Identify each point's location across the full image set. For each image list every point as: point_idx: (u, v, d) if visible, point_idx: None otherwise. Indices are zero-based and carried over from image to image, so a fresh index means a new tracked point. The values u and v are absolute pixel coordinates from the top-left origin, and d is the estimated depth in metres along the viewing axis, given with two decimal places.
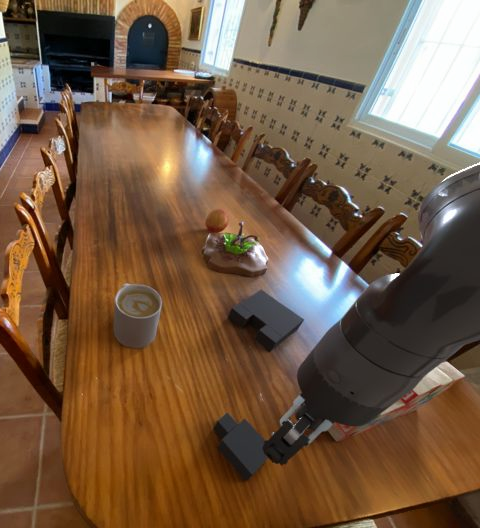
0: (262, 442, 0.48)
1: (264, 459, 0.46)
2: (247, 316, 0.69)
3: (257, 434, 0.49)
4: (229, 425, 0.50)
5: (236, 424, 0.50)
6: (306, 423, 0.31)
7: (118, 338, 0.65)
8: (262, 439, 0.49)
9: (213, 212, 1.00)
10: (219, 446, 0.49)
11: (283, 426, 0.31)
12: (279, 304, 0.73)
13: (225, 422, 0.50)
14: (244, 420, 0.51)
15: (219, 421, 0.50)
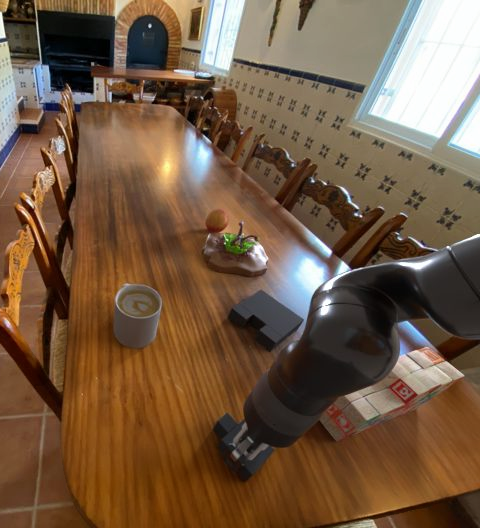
0: None
1: (264, 459, 0.46)
2: (247, 316, 0.69)
3: None
4: (229, 425, 0.50)
5: (236, 424, 0.50)
6: (246, 446, 0.41)
7: (118, 338, 0.65)
8: None
9: (213, 212, 1.00)
10: (219, 446, 0.49)
11: (228, 449, 0.41)
12: (279, 304, 0.73)
13: (225, 422, 0.50)
14: (244, 420, 0.51)
15: (219, 421, 0.50)
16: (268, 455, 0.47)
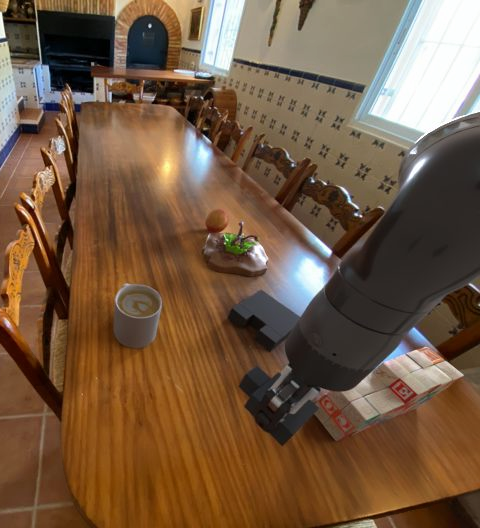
0: None
1: (307, 417, 0.37)
2: (247, 316, 0.69)
3: None
4: (260, 379, 0.41)
5: (269, 378, 0.41)
6: (290, 391, 0.31)
7: (118, 338, 0.65)
8: None
9: (213, 212, 1.00)
10: (248, 404, 0.40)
11: (266, 395, 0.32)
12: (279, 304, 0.73)
13: (255, 376, 0.41)
14: (278, 374, 0.41)
15: (248, 374, 0.41)
16: (311, 413, 0.37)
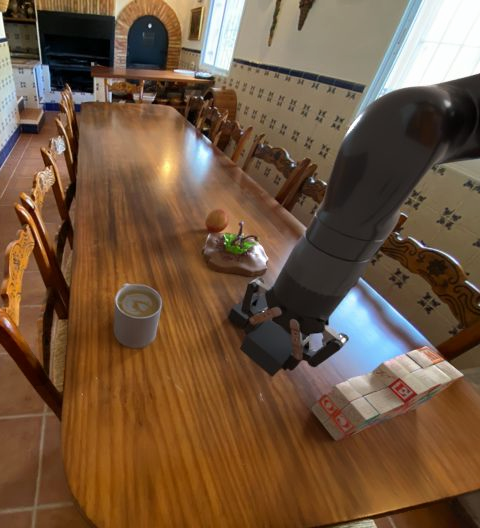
0: (283, 354, 0.43)
1: (266, 350, 0.44)
2: (247, 316, 0.69)
3: (290, 352, 0.44)
4: None
5: (290, 335, 0.46)
6: (265, 287, 0.43)
7: (118, 338, 0.65)
8: (287, 355, 0.43)
9: (213, 212, 1.00)
10: None
11: None
12: None
13: None
14: None
15: None
16: (272, 355, 0.43)
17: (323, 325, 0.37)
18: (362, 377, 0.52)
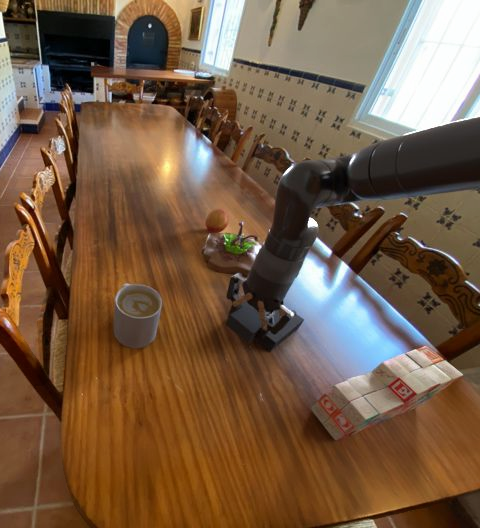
0: (255, 327, 0.61)
1: (243, 324, 0.62)
2: None
3: (260, 326, 0.62)
4: None
5: None
6: (242, 279, 0.61)
7: (118, 338, 0.65)
8: (258, 327, 0.61)
9: (213, 212, 1.00)
10: None
11: (237, 273, 0.63)
12: None
13: None
14: None
15: None
16: (247, 327, 0.61)
17: (279, 304, 0.55)
18: (362, 377, 0.52)
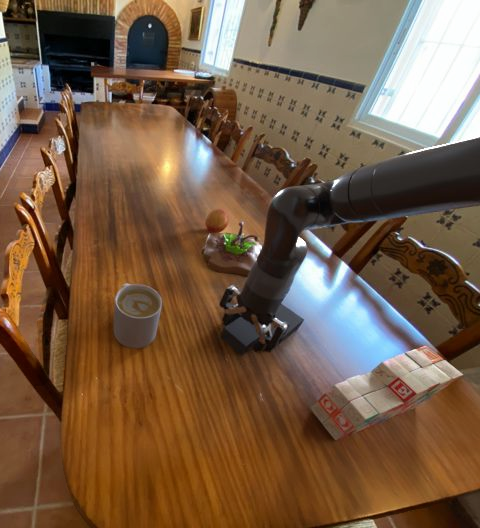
0: (248, 340, 0.64)
1: (237, 337, 0.64)
2: None
3: (253, 339, 0.64)
4: None
5: None
6: (237, 292, 0.63)
7: (118, 338, 0.65)
8: (250, 340, 0.64)
9: (213, 212, 1.00)
10: None
11: None
12: None
13: None
14: None
15: None
16: (240, 340, 0.64)
17: (271, 318, 0.58)
18: (361, 376, 0.52)
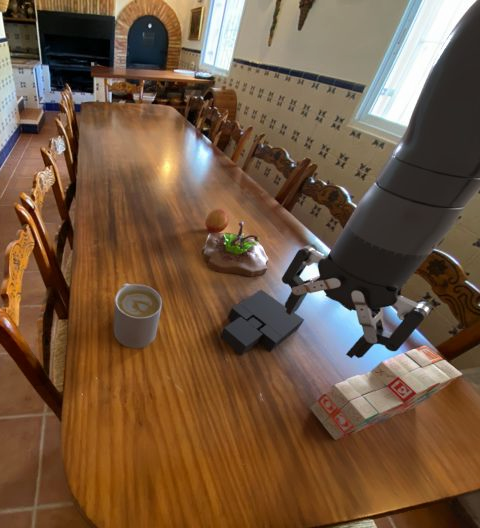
0: (248, 340, 0.64)
1: (237, 337, 0.64)
2: (247, 316, 0.69)
3: (253, 339, 0.64)
4: (252, 322, 0.68)
5: (255, 327, 0.67)
6: (319, 255, 0.37)
7: (118, 338, 0.65)
8: (250, 340, 0.64)
9: (213, 212, 1.00)
10: None
11: (307, 245, 0.39)
12: (279, 304, 0.73)
13: (253, 321, 0.68)
14: (260, 333, 0.66)
15: (253, 318, 0.69)
16: (240, 340, 0.64)
17: (395, 296, 0.32)
18: (361, 376, 0.52)
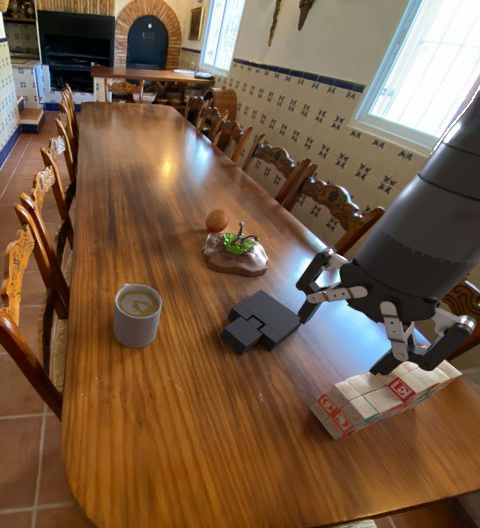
0: (248, 340, 0.64)
1: (237, 337, 0.64)
2: (247, 316, 0.69)
3: (253, 339, 0.64)
4: (252, 322, 0.68)
5: (255, 327, 0.67)
6: (341, 260, 0.33)
7: (118, 338, 0.65)
8: (250, 340, 0.64)
9: (213, 212, 1.00)
10: None
11: None
12: (279, 304, 0.73)
13: (253, 321, 0.68)
14: (260, 333, 0.66)
15: (253, 318, 0.69)
16: (240, 340, 0.64)
17: (434, 308, 0.27)
18: (361, 376, 0.52)
